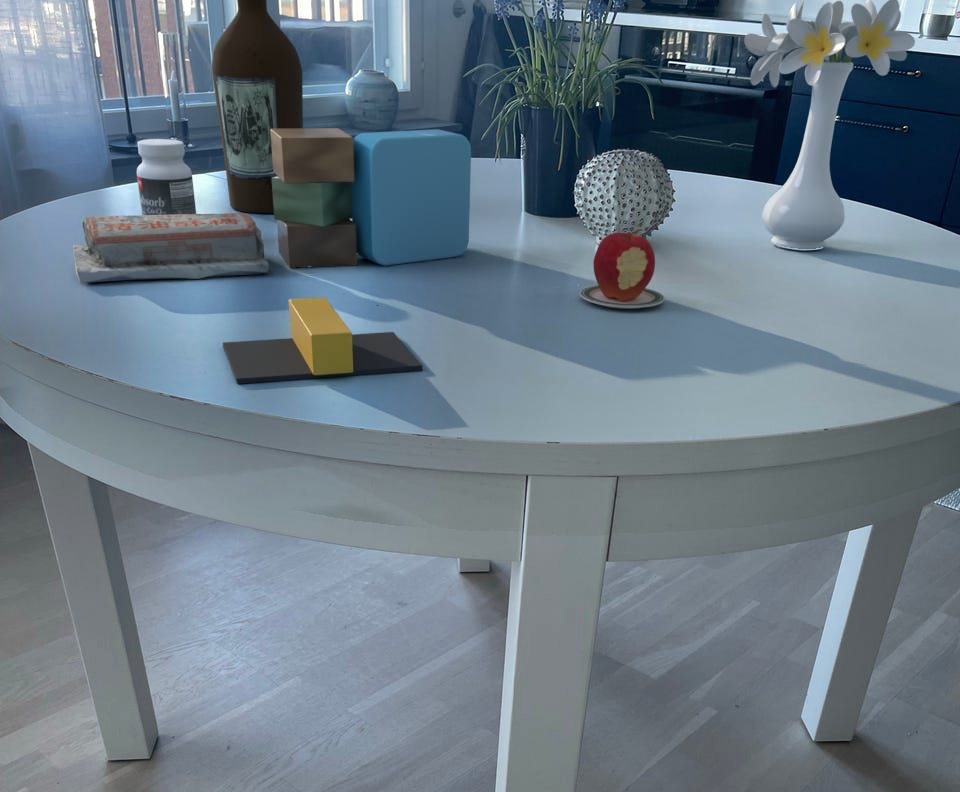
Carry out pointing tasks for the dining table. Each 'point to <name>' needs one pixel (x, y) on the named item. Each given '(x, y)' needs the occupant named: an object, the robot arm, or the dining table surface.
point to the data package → (411, 195)
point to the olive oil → (254, 101)
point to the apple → (623, 273)
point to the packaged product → (169, 247)
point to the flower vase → (821, 105)
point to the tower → (314, 196)
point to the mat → (289, 364)
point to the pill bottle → (164, 178)
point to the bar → (321, 336)
